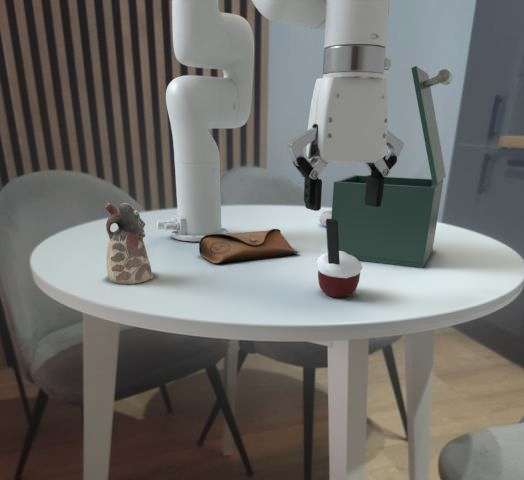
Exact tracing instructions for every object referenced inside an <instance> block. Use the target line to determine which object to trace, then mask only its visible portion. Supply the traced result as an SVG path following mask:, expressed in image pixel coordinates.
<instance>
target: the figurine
mask: <svg viewBox="0 0 524 480" xmlns="http://www.w3.org/2000/svg"><path fill="white" fill-rule="evenodd" d="M104 208H105V210H107V211H108V213H109V214H110V215H109V217H108V218H107V220H106V224H105V229H106V232H107V234H108V238H109V241H108V245H107V252H106V272H107V276H108V279H109V281H110V282H112V283H115V284H120V285H121V284H123V285H133V284H139V283H144V282H146V281H149V280H151V279H153V278H154V276H153V272H152V271H153V270H152V267H151V263H150V260H149V257H148V252H147V249H146V244H145V242H144V239H145V237H146V233H145V229H144V228H145V227H146V223H145V221H144V220H143V219H142V218H141V216H140V213H139V211H138V210H137V209H136V208H135V207H134V206H133V205H131V204H130V203H128V202H121V203H119V205H118V207H117V208H116V207H115V206H114V205H113V204H111V202H108V203H106V204H105V207H104ZM113 224H116V225H117V229H116V230H115V231H112V230H111V226H112V225H113Z"/></svg>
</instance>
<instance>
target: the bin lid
mask: <svg viewBox="0 0 524 480" xmlns="http://www.w3.org/2000/svg"><path fill="white" fill-rule="evenodd" d="M411 74H412V80H413V86H414V90H415V95H416V101H417V107H418V112H419V113H418V114H419V119H420V123H421V128H422V134H423V140H424V146H425V149H426V156H427V160H428V167H429V173H430V177H431V178H430V179H432V184H433V185H437V184H438V183H440V182H441V181H442V180H443V181H444V179H445V178H446V177H447V174H446V168H445V163H444V157H443V151H442V145H441V141H440V139H441V138H440V136H439V128H438V123H437V118H436V111H435V105H434V99H433V94H432V88H431V87H434V86H436V85H438V84H441V85H443V86H448V85H450V84H451V83H452V82H453V74H452V73H451V72H450V71H449V70H448V69H446V68H442V69H440V70H439V71H438V72H437V74H436V76H433V77H431V78H430V76H429V73H428V72H426V71H424V70H423V69H421V68H420V67H418V66H417V65H415V66H413V67H411Z"/></svg>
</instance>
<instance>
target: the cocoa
mask: <svg viewBox="0 0 524 480" xmlns="http://www.w3.org/2000/svg"><path fill="white" fill-rule="evenodd" d="M325 228H326V229H325V230H326V232H325V233H326V248H327V250H326V251H325V252H323V253H322V254H321V255H320V256H319V257H318V258H317V260H316V266H315V267H316V269H317V279H318V284H319V288H320V290H321V291H322V292H323V293H324V294H325V295H327V296H328V297H331V298H337V299H339V298H340V299H343V298H347V297H349V296H350V295H352V294H354V292H356V290H357V288H358V285H359V282H360V278H361V272H362V270H363V265H362V263H361V261H359V260H358V259H357V258H355V257H354V256H352V255H349V254H347V253H346V252H343V251H339V236H338V221H337V220H334V219H326V227H325Z"/></svg>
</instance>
